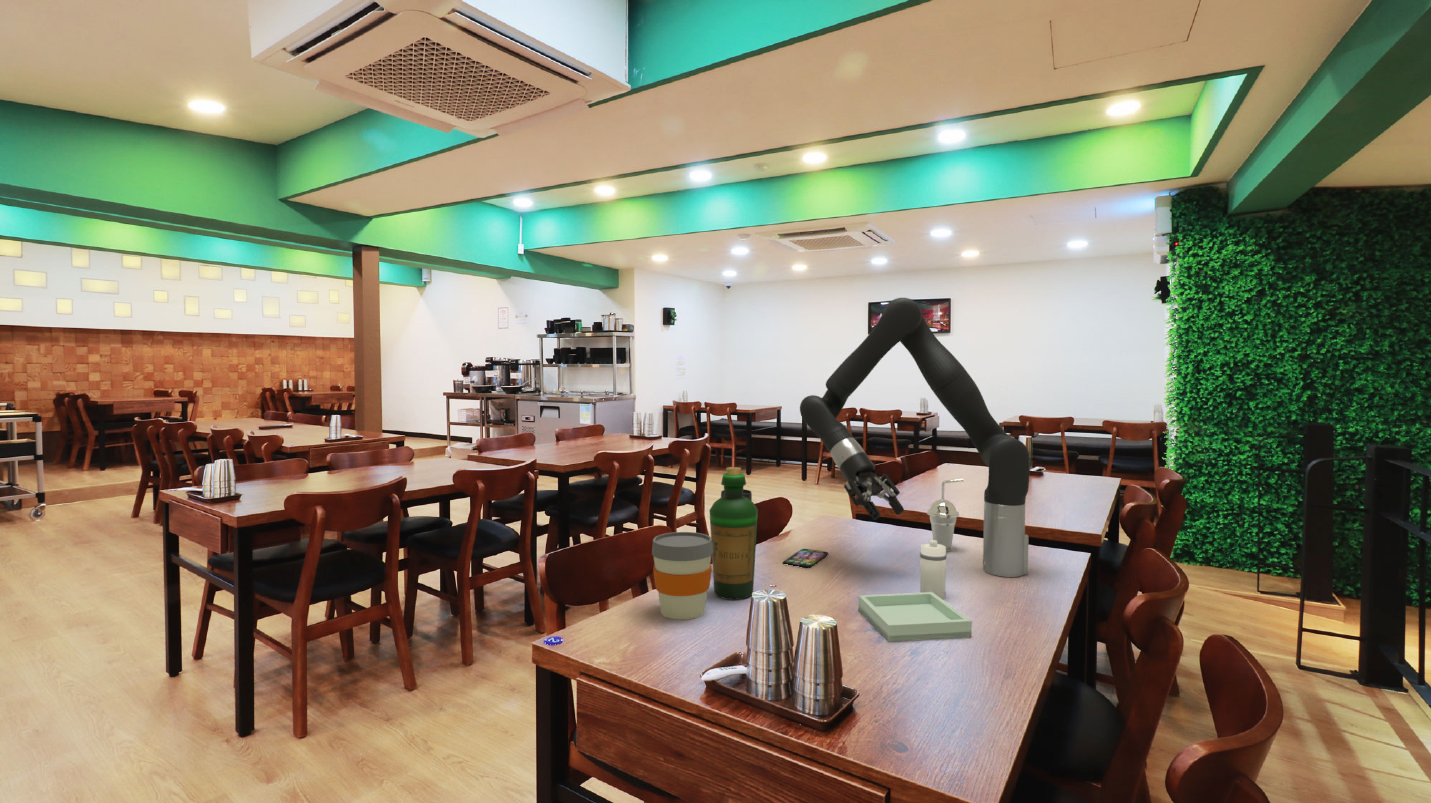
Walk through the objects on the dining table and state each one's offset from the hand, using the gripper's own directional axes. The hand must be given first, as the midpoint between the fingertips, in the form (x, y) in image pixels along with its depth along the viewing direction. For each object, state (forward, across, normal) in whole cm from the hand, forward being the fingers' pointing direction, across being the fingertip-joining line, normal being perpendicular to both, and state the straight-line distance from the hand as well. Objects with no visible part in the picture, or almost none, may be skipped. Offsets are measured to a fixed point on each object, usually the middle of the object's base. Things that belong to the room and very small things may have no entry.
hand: (889, 515), depth 151 cm
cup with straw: (+5, +35, +17) cm, 39 cm away
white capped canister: (+20, 0, +3) cm, 20 cm away
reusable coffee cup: (+2, -49, +21) cm, 53 cm away
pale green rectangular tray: (+24, -16, -2) cm, 29 cm away
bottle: (0, -34, +23) cm, 41 cm away
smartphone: (-6, -2, +29) cm, 30 cm away
